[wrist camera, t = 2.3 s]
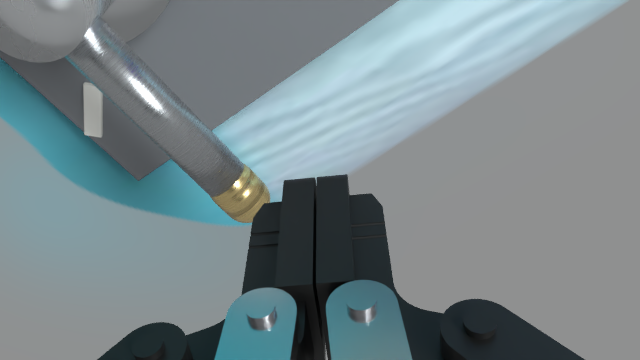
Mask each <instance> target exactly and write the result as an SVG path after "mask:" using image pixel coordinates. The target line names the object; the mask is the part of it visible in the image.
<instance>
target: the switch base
mask: <svg viewBox="0 0 640 360" xmlns="http://www.w3.org/2000/svg"><path fill="white" fill-rule="evenodd" d="M397 1H399V0H170V1H169V3H168V4H167V6H166V8H165V9H164V10H163V12H162V13H161V14H160V15H159V17H158V18H157V19H156V21H155V22H153V23H152V24H151V25H150V26H149V27H148V28H147V29H146V30H145V31H144V32H142V33H141V34H139V35H138V36H136V37H135V38H134V39H132V40H130V41H128V42H126V44H127V45H128V46H129V47H130V48H131V49H132V50H133V51H134V52H135V53H136V54H137V55H138V56H139V57H140V58H141V59H142V60H143V61H144V62H145V63H146V64H147V65H148V66H149V67H150V68H151V69H152V70H153V71H154V72H155V73H156V74H157V76H158V77H159V78H160V79H161V80H162V81H163V82H164V83H165V84H166V85H167V86H168V87H169V88H170V89H171V90H172V91H173V92H174V93H175V94H176V95H177V96H178V97H179V98H180V99H181V100H182V101H183V102H184V103H185V104H186V105H187V106H188V107H189V108H190V110H191V111H192V112H193V113H194V114H195V115H196V116H197V117H198V118H199V119H200V120H201V121H202V122H203V123H204V124H205V125H206V126H207V127H208V128H209V129H210V130H213V129H214V128H216V127H217V126H218V125H220V124H221V123H223V122H224V121H226V120H227V119H229V118H230V117H231V116H233V115H234V114H236V113H237V112H239V111H240V110H242V109H243V108H244V107H246V106H247V105H249V104H250V103H252V102H253V101H255V100H256V99H257V98H259V97H260V96H262V95H263V94H265V93H266V92H267V91H269V90H270V89H272V88H273V87H275V86H276V85H278V84H279V83H280V82H282V81H283V80H285V79H286V78H288V77H289V76H291V75H292V74H293V73H295V72H296V71H298V70H299V69H301V68H302V67H304V66H305V65H306V64H308V63H309V62H311V61H312V60H314V59H315V58H317V57H318V56H319V55H321V54H322V53H324V52H325V51H327V50H328V49H329V48H331V47H332V46H334V45H335V44H337V43H338V42H340V41H341V40H342V39H344V38H345V37H347V36H348V35H350V34H351V33H353V32H354V31H355V30H357V29H358V28H360V27H361V26H363V25H364V24H366V23H367V22H368V21H370V20H371V19H373V18H374V17H376V16H377V15H379V14H380V13H381V12H383V11H384V10H386V9H387V8H389V7H390V6H392V5H393V4H394V3H396V2H397ZM0 57H1V58H2V59H3V60H4V61H5V62H6V63H7V64H8V65H10V66H11V67H12V68H13V69H14V70H15V71H16V72H17V73H19V74H20V75H21V76H22V77H23V78H24V79H25V80H26V81H27V82H29V83H30V84H31V85H32V86H33V87H34V88H35V89H36V90H38V91H39V92H40V93H41V94H42V95H43V96H44V97H45V98H46V99H48V100H49V101H50V102H51V103H52V104H53V105H54V106H55V107H56V108H58V109H59V110H60V111H61V112H62V113H63V114H64V115H65V116H67V117H68V118H69V119H70V120H71V121H72V122H73V123H74V124H75V125H77V126H78V127H79V128H80V129H81V130H82V131H83V132H84V135H88V136H89V137H90V138H91V139H92V140H93V141H94V142H96V143H97V144H98V145H99V146H100V147H101V148H102V149H103V150H104V151H106V152H107V153H108V154H109V155H110V156H111V157H112V158H113V159H115V160H116V161H117V162H118V163H119V164H120V165H121V166H122V167H123V168H125V169H126V170H127V171H128V172H129V173H130V174H131V175H132V176H134V177H135V178H136V179H137V180H138V181H139V180H141V179H142V178H143V177H145V176H146V175H148V174H149V173H151V172H152V171H154V170H155V169H156V168H158V167H159V166H161V165H162V164H164V163H165V162H167V161H168V160H169V159H171V158H170V157H169V156H168V155H167V154H166V153H165V152H164V151H162V150H161V149H160V148H159V147H158V146H157V145H156V144H155V143H154V142H153V141H152V140H151V139H150V138H149V137H148V136H147V135H146V134H145V133H144V132H143V131H141V130H140V129H139V128H138V127H137V126H136V125H135V124H134V123H133V122H132V121H131V120H130V119H129V118H128V117H127V116H126V115H125V114H124V113H123V112H122V111H120V110H119V109H118V108H117V107H116V106H115V105H114V104H113V103H112V102H111V101H110V100H109V99H108V98H107V97H106V96H105V95H104V94H103V93H102V92H101V91H99V90H98V89H97V88H96V87H95V86H94V85H93V84H92V83H91V82H90V81H89V80H88V79H87V78H86V77H85V76H84V75H83V74H82V73H81V72H80V71H79V70H77V69H76V68H75V67H74V66H73V65H72V64H71V63H70V62H69V61H68V60H67V59H66V58H65V57H63V58H61V59H58V60H55V61H51V62H42V63H37V62H29V61H24V60H20V59H17V58H15V57H12V56H10V55H8V54H6V53H4V52H2V51H1V50H0Z"/></svg>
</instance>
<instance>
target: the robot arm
mask: <svg viewBox="0 0 640 360" xmlns="http://www.w3.org/2000/svg"><path fill="white" fill-rule="evenodd" d="M325 343H326V349H327V356H328V360H584V359H583V358H581V357H580V356H578V355H577V354H575V353H574V352H572V351H571V350H569V349H568V348H566V347H564V346H563V345H561V344H560V343H558V342H557V341H555V340H554V339H552V338H551V337H549V336H548V335H546V334H544V333H543V332H541V331H540V330H538V329H537V328H535V327H534V326H532V325H531V324H529V323H527V322H526V321H525V320H523V319H521V318H520V317H518V316H517V315H515V314H513V313H512V312H511V311H509V310H507V309H506V308H504V307H503V306H501V305H499V304H497V303H494V302H492V301H488V300H482V299H469V300H464V301H460V302H458V303H455V304H453V305H452V306H450V307H449V308H448V309H447V310H446V311H445V313H444V314H443V313H438V312H432V311H427V310H423V309H420V308H417V307H414V306H413V305H411V304H409V303H407V302H406V301H405V300H403V299H402V298H401V297H400V296H399V294H398V293H397V291H396V289H395V287H394V283H393V278H392V271H391V264H390V256H389V250H388V242H387V236H386V229H385V221H384V214H383V207H382V205H381V204H380V203H379V202H378V201H377V199H376V198H375V197H374V196H373V195H372V194H360V195H349V186H348V176H347V174H346V175H336V176H325V177H317V186H316V180H315V178H305V179H294V180H284V185H283V196H282V202H273V203H264V204H263V205H262V207H261V208H260V209H259V211H258V212H257V213H256V215H255V216H254V217H253V222H252V229H251V237H250V242H249V250H248V256H247V262H246V269H245V276H244V282H243V289H242V295H241V296H240V297H239V298H237V299H236V300H235V301H234V303H232V305H231V306H230V308H229V309H228V312H227V315H226V319H224V320H223V321H221V322H220V323H218V324H216V325H214V326H211V327H209V328H206V329H204V330H201V331H198V332H195V333H192V334H189V335H186V336H185V334H184V332H183V331H182V329H180V328H179V327H178V326H175V325H174V324H170V323H164V322H162V323H161V322H160V323H152V324H148V325H145V326H142V327H140V328H138V329H136V330H134V331H132V332H131V333H130V334H128V335H127V336H126V337H125V338H123V339H122V340H121V341H120V342H118V343H117V344H116V345H115V346H114V347H112V348H111V349H110V350H109V351H107V352H106V353H105V354H104V355H103V356H101V357H100V358H99V359H98V360H325Z"/></svg>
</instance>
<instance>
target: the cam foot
mask: <svg viewBox="0 0 640 360" xmlns="http://www.w3.org/2000/svg"><path fill="white" fill-rule="evenodd" d="M169 1H170V0H0V50H1V51H2V52H4V53H6V54H8V55H10V56H12V57H15V58H17V59H20V60H24V61H29V62H37V63H42V62H51V61H55V60H58V59H61V58H63V57H65V58H66V59H67V60H68V61H69V62H70V63H71V64H72V65H73V66H74V67H75V68H76V69H77V70H79V71H80V72H81V73H82V74H83V75H84V76H85V77H86V78H87V79H88V80H89V81H90V82H91V83H92V84H93V85H94V86H95V87H96V88H97V89H98V90H99V91H101V92H102V93H103V94H104V95H105V96H106V97H107V98H108V99H109V100H110V101H111V102H112V103H113V104H114V105H115V106H116V107H117V108H118V109H119V110H120V111H122V112H123V113H124V114H125V115H126V116H127V117H128V118H129V119H130V120H131V121H132V122H133V123H134V124H135V125H136V126H137V127H138V128H139V129H140V130H141V131H143V132H144V133H145V134H146V135H147V136H148V137H149V138H150V139H151V140H152V141H153V142H154V143H155V144H156V145H157V146H158V147H159V148H160V149H161V150H162V151H164V152H165V153H166V154H167V155H168V156H169V157H170V158H171V159H172V160H173V161H174V162H175V163H176V164H177V165H178V166H179V167H180V168H181V169H182V170H183V171H185V172H186V173H187V174H188V175H189V176H190V177H191V178H192V179H193V180H194V181H195V182H196V183H197V184H198V185H199V186H200V187H201V188H202V189H203V190H204V191H205V192H207V193H208V194H209V195H210V197H211V198H212V200H213V201H214V202H215V203H216V204H217V205H218V206H219V207H220V208H221V209H222V210H223V211H224V212H225V213H227V214H228V215H229V216H230V217H231V218H232V219H234V220H236V221H238V222H242V223H251V222H253V217H254V216H255V215H256V213H257V212H258V211H259V209H260V208H261V207H262V205H263V204H264V203H270V194H269V191H268V188H267V186H266V185H265V184H264V183H263V182H262V181H261V180H260V179H259V178H258V176H257V175H256V174H255V173H254V172H253V171H252V170H251V169H250V168H249V167H247V166H246V165H245V164H243V163H242V162H241V161H240V160H239V159H238V158H237V157H236V156H235V155H234V154H233V153H232V152H231V151H230V150H229V149H228V148H227V147H226V146H225V145H224V143H223V142H222V141H221V140H220V139H219V138H218V137H217V136H216V135H215V134H214V133H213V132H212V131H211V130H210V129H209V128H208V127H207V126H206V125H205V124H204V123H203V122H202V121H201V120H200V119H199V118H198V117H197V116H196V115H195V114H194V113H193V112H192V111H191V110H190V108H189V107H188V106H187V105H186V104H185V103H184V102H183V101H182V100H181V99H180V98H179V97H178V96H177V95H176V94H175V93H174V92H173V91H172V90H171V89H170V88H169V87H168V86H167V85H166V84H165V83H164V82H163V81H162V80H161V79H160V78H159V77H158V76H157V74H156V73H155V72H154V71H153V70H152V69H151V68H150V67H149V66H148V65H147V64H146V63H145V62H144V61H143V60H142V59H141V58H140V57H139V56H138V55H137V54H136V53H135V52H134V51H133V50H132V49H131V48H130V47H129V46H128V45H127V44H126V42H128V41H130V40H132V39H134V38H135V37H136V36H138V35H139V34H141V33H142V32H144V31H145V30H146V29H147V28H148V27H149V26H150V25H151V24H152V23H153V22H155V21H156V19H157V18H158V17H159V15H160V14H161V13H162V12H163V10H164V9H165V8H166V6H167V4H168V3H169Z"/></svg>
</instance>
